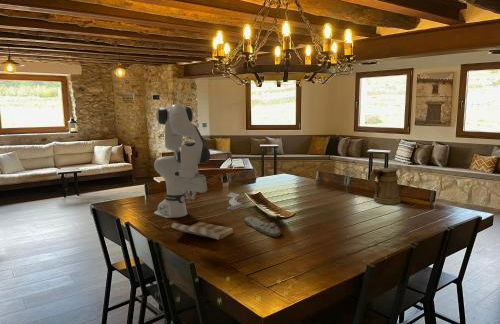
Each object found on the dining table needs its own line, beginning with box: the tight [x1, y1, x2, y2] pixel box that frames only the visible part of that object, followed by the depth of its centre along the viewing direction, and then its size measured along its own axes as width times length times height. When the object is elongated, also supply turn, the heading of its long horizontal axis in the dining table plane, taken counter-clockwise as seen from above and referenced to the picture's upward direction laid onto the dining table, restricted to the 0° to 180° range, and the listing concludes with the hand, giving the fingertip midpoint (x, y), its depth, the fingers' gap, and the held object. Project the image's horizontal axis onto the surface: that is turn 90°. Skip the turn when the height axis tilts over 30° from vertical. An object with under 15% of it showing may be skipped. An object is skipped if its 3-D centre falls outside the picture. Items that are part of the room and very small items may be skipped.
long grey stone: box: [244, 216, 281, 238], centre depth 225 cm, size 35×5×10 cm
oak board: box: [190, 221, 234, 240], centre depth 219 cm, size 24×12×3 cm, turn 58°
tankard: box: [369, 167, 402, 206], centre depth 279 cm, size 18×24×25 cm
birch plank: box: [171, 222, 220, 241], centre depth 208 cm, size 24×12×2 cm, turn 58°
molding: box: [226, 192, 245, 211], centre depth 284 cm, size 42×12×3 cm, turn 3°
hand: (190, 198), depth 203 cm, fingers closed
